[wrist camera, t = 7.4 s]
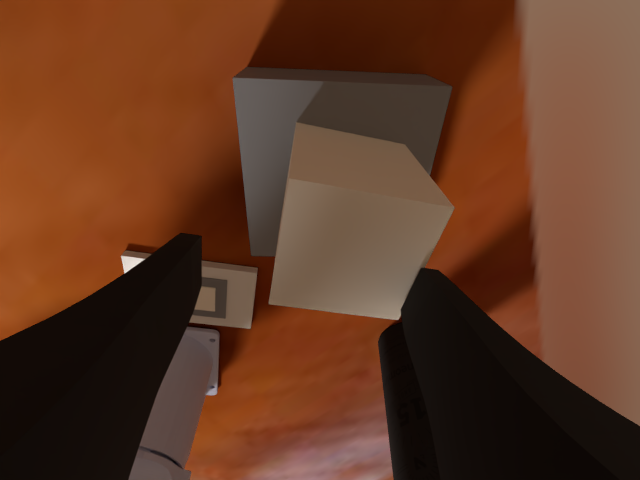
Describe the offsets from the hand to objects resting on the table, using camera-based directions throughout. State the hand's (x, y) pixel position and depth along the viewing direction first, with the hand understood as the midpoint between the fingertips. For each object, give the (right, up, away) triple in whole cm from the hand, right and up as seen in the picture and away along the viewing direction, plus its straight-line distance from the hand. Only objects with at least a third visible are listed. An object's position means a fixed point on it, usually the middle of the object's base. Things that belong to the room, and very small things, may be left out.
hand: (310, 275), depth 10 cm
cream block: (+1, +4, +5) cm, 6 cm away
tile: (-9, -3, +13) cm, 16 cm away
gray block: (+1, +6, +8) cm, 10 cm away
